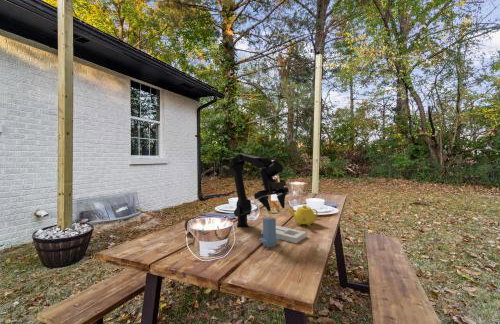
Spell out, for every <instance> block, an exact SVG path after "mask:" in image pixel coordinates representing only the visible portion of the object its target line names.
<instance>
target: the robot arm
mask: <svg viewBox="0 0 500 324" xmlns="http://www.w3.org/2000/svg"><path fill="white" fill-rule="evenodd" d="M247 163H249V164H252V165H253V167H255V168H256V169H258V171H257V175H258V176H259V175H260V179H261V181H262V183H261V186H263V187H264V189H261V190H258V191H256V192H255V193H254V195H253V197H254V199H255V200H257V201H258V202H260V204H262V205H263V206H264V208H265V209H266V210H267V211H268V212H271V211H272V210H271V206H270V203H269V196H272V195H276V199H277V200H278V203H279V205H280V206H281V209H285V205H286V204H285V203H286V201H285V199H286V195H288V193H290V190H289V188H288V187H287V182H286V180H285V179H280V180H279V181H277V180H276V179H274V178H275V176H278V175H279V174H281V173H282V172H283V171H284V166H283V165H282V163H280V162H279V161H278V159H273V160H271V159H270V157H268V156H255V155H252V154H248V153H245V152H242V153H238V154H237V155H235V157H233V158H231V160H230V161H229V163H228V168H229V170H230V173H231V174H232V175H233V178H234V185H235V188H236V189H235V190H236V195H237V200H236V201H237V202H236V204H235V206H236V208H235V209H234V211H233V215H234V216H235V217H237V223H236V226H237V228H242V227H243V228H247V227H249V223H248V216H249V215H251V213H252V209H253V208H252V206H253V205H252V201H251V199H248V198H247V194H246V189H245V184H244V176H243V171H244V169H245V167H244V166H245V165H246V164H247Z"/></svg>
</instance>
